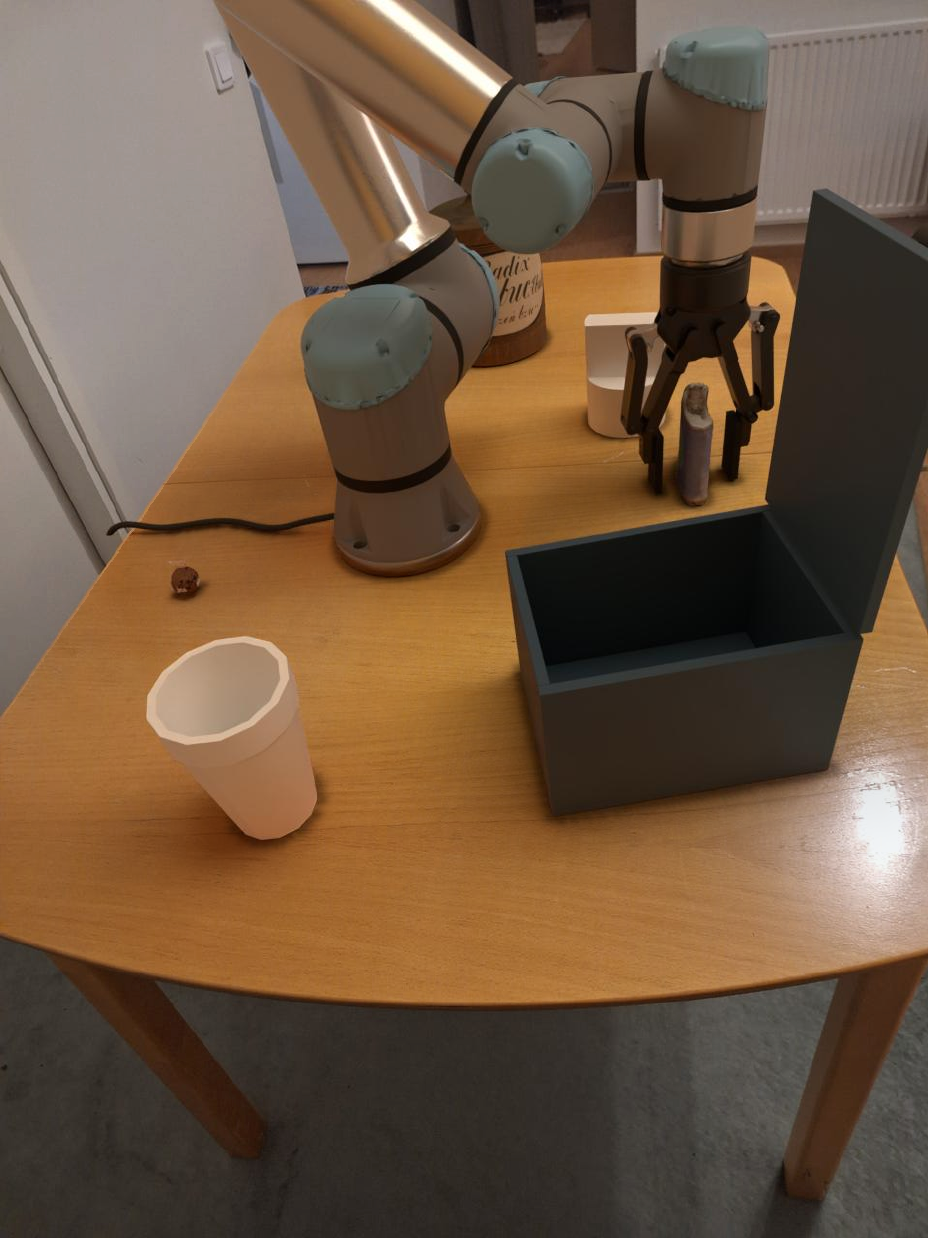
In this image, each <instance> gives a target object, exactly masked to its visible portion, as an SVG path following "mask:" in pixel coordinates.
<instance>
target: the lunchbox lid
mask: <svg viewBox="0 0 928 1238" xmlns="http://www.w3.org/2000/svg"><path fill="white" fill-rule="evenodd" d="M807 220H808V221H807V227H806V233H805V238H804V246H803V251H802V258H801V263H800V264H801V265H800V269H799V270H800V271H799V278H798V284H797V290H796V291H797V292H796V297H795V303H794V308H793V316H792V323H791V329H790V333H789V334H790V336H789V341H788V348H787V352H786V353H787V354H786V360H785V367H784V373H783V380H782V386H781V392H780V399H779V406H778V412H777V419H776V424H775V431H774V436H773V444H772V449H771V450H772V451H771V457H770V463H769V470H768V475H767V481H766V489H765V495H764V501H765V502H766V503H767V504H768V505H769V506H770V508H771V509H772V510H773V512H774V513H775V515H776V516H777V518H778V519H779V520H780V522H781V523H782V525H783V526H784V528H785V529H786V530H787V532H788V533H789V535H790V536H791V538H792V539H793V540H794V542H795V543H796V545H797V546H798V548H799V549H800V550H801V552H802V553H803V555H804V556H805V558H806V559H807V560H808V562H809V563H810V565H811V566H812V568H813V569H814V570H815V572H816V573H817V575H818V576H819V578H820V579H821V580H822V582H823V583H824V585H825V586H826V588H827V589H828V590H829V592H830V593H831V595H832V596H833V598H834V599H835V600H836V602H837V603H838V605H839V606H840V608H841V609H842V610H843V612H844V613H845V615H846V616H847V618H848V619H849V620H850V622H851V623H852V625H853V626H854V628H855V629H856V630H857V632H858V633H859V634H861V635H864V634H870V633H873V631H874V628H875V624H876V621H877V617H878V614H879V610H880V607H881V605H882V601H883V599H884V594H885V591H886V588H887V584H888V581H889V578H890V575H891V571H892V568H893V565H894V561H895V558H896V555H897V551H898V548H899V546H900V541H901V538H902V535H903V533H904V528H905V525H906V523H907V518H908V515H909V512H910V508H911V506H912V502H913V499H914V495H915V492H916V489H917V486H918V482H919V479H920V477H921V476H920V475H921V473H922V469H923V466H924V462H925V460H926V456H927V453H928V222H925V223H924V224H922V225H921V226H919V227H918V228H917V229H916V230H915V231H914V233H913V234H912V235H911V237H910V236H908V235H907V234H904V233H903V232H902V231H900V230H898V229H897V228H895V227H893V226H891V225H889V224H887V223H886V222H884V221H883V220H881V219H879V218H878V217H876V216H874V215H872V214H871V213H869V212H867V211H866V210H864V209H862V208H861V207H859V206H857V205H856V204H854V203H852V202H851V201H849V200H848V199H845V198H844V197H843V196H840V195H839V194H837V193H836V192H834V191H832V190H831V189H828V188H827V187H825V188H820V189H814V190H812V195H811V201H810V207H809V213H808V219H807Z"/></svg>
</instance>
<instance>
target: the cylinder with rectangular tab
mask: <svg viewBox="0 0 928 1238" xmlns="http://www.w3.org/2000/svg"><path fill="white" fill-rule="evenodd" d="M657 313H658V311H651V312H650V311H649V312H648V311H647V312H621V313H619V312H618V313H594V314H587V316H586V317H585V319H584V345H585V348H584V349H585V350H584V351H585V372H586V374H585V375H586V377H585V378H586V398H587V399H586V400H587V423H588V425H589V428H590V429H591V430H593V431H594V433H597V434H599V435H601V436H605V437H609V438H615V439H616V438H617V439H627V438H630V439H632V438H636V437H638V438H639V434H635V435H628V434H627V432H626V431H625V429H624V427H623V425H622V423H621V421H620V415H621V407H622V400H623V392H624V384H625V376H626V368H627V361H628V353H629V351H628V347H627V343H626V338H625V331H626V329H627V328H629V327H631V326H633V327H635V328H637V329H640V328H642V327H645V326H647V325H650V324H652V323H654V319H655V317H656V315H657ZM665 346H666V344H665V342H664V341H663V340H662V339H661V338H660V336H659V337H657V338H656V339H655V340H654V342H653V348H652V351H651V352H649V353H647V355H648V368H647V374H646V381H645V388H644V395H643V402H642V409H643V407H644V404H645V402H646V399H647V397H648V394H649V392H650V389H651V387H652V384H653V382H654V379H655V377H656V374H657V372H658V369H659V367H660V364H661V361H662V353H663V351H664V348H665ZM642 409H641V412H642ZM666 412H667V410H666V411H665V414H664V416H663V418H662V421H661V423H660V426H659V428H660V427H661V426H663V424H664V423H665V420H666Z"/></svg>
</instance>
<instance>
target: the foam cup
mask: <svg viewBox="0 0 928 1238" xmlns="http://www.w3.org/2000/svg"><path fill="white" fill-rule="evenodd" d="M297 683H298V682H297V679H296V677H295V674H294V672H293V670H292V666H291V664H290V662H289V660H288V657H287V655H285V654H284V653H283V652H282V650H280V649H279V648H278V647H277V646H276V645H275V644H274V643H273V642H272V641H268V640H264V639H259V638H256V637H252V636H248V635H244V636H236V637H235V636H234V637H228V638H227V637H226V638H219V639H215V640H212V641H210V642H208V643H205V644H203V645H200V646H198V647H196V648H193V649H192V650H189V651H187V652H185V653H184V654H183V655H182V656H180V657H179V658H177V660H175V661H174V662H172V663H171V664H170V665H169V666H168V667H166V668H165V669H164V670H162V672H161V673H160V675H159V676H158V678H157V680H156V681H155V683H154V684H153V686H152V688H151V689H150V691H149V692H148V694H147V696H146V698H147V699H146V715H145V717H146V720H147V722H148V724H149V726H150V728H151V729H152V731H153V732H154V734H155V735H156V737H157V738H158V741H159V742H160V743H161V744H162V746H163V748H164V749H165V750H166V751H167V753H168V754H169V755H170V756H171V758H172V759H173V760H174V761H176V762H179V763H180V764H182V766H183V767H184V768H185V769H186V771H188V773H190V775H191V776H192V777H193V778H194V779H195V780H196V782H197V783H198V784H199V785H200V786H201V787H202V788H203V789H204V790H205V791H206V792H207V794H208V795H209V796H210V797H211V798H212V799H213V800H214V801H215V803H216V804H217V805H218V806H219V807H220V809H222V811H223V812H224V813H225V814H226V815H227V816H228V817H229V819H231V821H232V822H233V823H234V824H235V825H236V826H237V827H238V829H240V830H241V831H242V832H243V833H244V835H245V836H249V837H252V838H254V839H257V840H260V841H263V840H274V839H280V838H282V837H284V836H287V835H288V834H290V833H292V832H295V831H296V830H299V828H301V826H302V825H303V824H304V823H305V822H306V821H307V820H308V819H309V818H310V817H311V816H312V815H313V812H314V809H315V806H316V804H317V801H318V794H317V788H316V787H317V786H316V781H315V780H316V779H315V776H314V771H313V767H312V762H311V761H312V760H311V757H310V753H309V748H308V743H307V742H308V741H307V739H306V734H305V729H304V725H303V720H302V716H301V711H300V706H299V705H300V698H299V690H298V684H297Z"/></svg>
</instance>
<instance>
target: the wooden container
mask: <svg viewBox="0 0 928 1238" xmlns="http://www.w3.org/2000/svg"><path fill="white" fill-rule="evenodd" d="M462 190H463V191H464V192H465V193H466V194H467V195H463V196H459V197H456V198H452V199H449V200H447V201H444V202H442V203H440V204H438V205H436V206H435V207H433V208H432V209H430V210H429V211H427V212H428V213H430V214H433V215H435V216H438V217H440V218H443V219H446V220H447V221H448V222H449V224H450V225H451V228H452V230H453V232H454V234H455V236H456V238H457V241H458V243H461V244H464V245H465V247H466V248H468V249H469V250H471V251H472V250H474V251H475V252H477V253H478V254H479V255H480V256H481V257H482V258H483V259H484V261H485V262H486V263H487V265H488V266H489V268H490V269H491V271H492V273H493V275H494V277H495V280H496V283H497V286H498V290H499V297H500V313H499V318H498V322H497V326H496V328H495V331H494V333H493V335H492V337H491V339H490V343H489V345H488V347H487V348H486V350H485V351H484V353H483V354H482V356H481V357H480V358H479V359H478V360H477V361H475V362H474V364H473V365H472V366H473V367H494V366H502V365H507V364H510V363H511V364H512V363H514V362H517V361H521V360H523V359H525V358H528V357H529V356H531V355H533V354H535V353H536V352H538V351H539V350H540V349H542V348H543V347H544V345H545V344H546V342H547V339H548V335H547V333H548V332H547V315H546V297H545V286H544V285H545V284H544V274H543V272H544V271H543V263H542V252H541V253H537V254H529V255H524V254H516V253H512V252H509V251H506V250H504V249H502V248H500V247H499V246H497V245H496V244H495V243H493V242H492V241H491V240H490V239H489V238H488V237H487V236H486V234H485V233H484V230H483V229H482V227H481V226H480V224H479V222H478V219H477V217H476V216H475V213H474V210H473V205H472V196H471V195H470V194H469V193H468V192H466V191H465V190H464V189H463V188H462ZM472 366H471V367H472Z"/></svg>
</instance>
